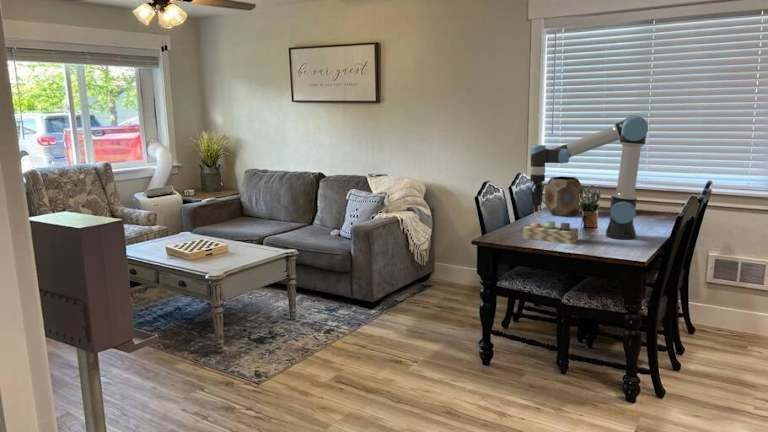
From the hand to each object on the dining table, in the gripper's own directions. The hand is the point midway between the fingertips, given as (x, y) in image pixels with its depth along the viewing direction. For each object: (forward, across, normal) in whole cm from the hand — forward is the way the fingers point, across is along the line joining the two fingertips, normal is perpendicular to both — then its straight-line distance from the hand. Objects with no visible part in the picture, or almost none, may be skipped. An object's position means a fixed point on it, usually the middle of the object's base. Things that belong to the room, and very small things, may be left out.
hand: (536, 217), depth 312 cm
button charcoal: (+6, 0, +16) cm, 17 cm away
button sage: (+6, 0, +8) cm, 10 cm away
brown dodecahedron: (+12, -73, -11) cm, 75 cm away
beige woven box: (+11, 0, +8) cm, 14 cm away
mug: (+11, -96, -28) cm, 101 cm away
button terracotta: (+8, 0, 0) cm, 8 cm away
